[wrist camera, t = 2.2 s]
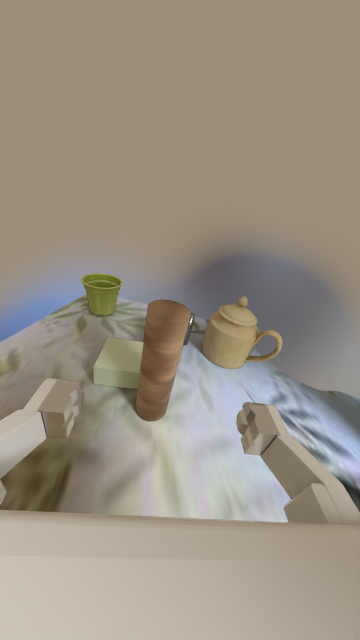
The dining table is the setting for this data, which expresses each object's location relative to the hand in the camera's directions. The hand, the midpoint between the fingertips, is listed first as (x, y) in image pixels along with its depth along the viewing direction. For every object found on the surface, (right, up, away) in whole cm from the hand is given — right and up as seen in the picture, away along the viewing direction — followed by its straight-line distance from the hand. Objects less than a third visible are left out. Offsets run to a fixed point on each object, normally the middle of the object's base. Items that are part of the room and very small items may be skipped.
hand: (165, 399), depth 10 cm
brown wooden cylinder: (-4, -10, +22) cm, 24 cm away
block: (-10, -5, +27) cm, 30 cm away
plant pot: (-20, +6, +43) cm, 48 cm away
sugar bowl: (+13, -5, +38) cm, 40 cm away
